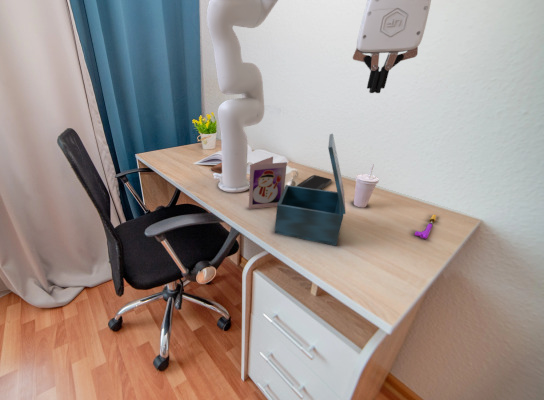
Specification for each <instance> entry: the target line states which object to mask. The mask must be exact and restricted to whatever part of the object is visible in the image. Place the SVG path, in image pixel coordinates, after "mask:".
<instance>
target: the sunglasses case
mask: <svg viewBox="0 0 544 400" xmlns="http://www.w3.org/2000/svg"><path fill="white" fill-rule="evenodd" d="M210 169H211V170H212V171H213V172H214V173H219V174H221V173H222V161H221V162H219V163H217V164H215V165H213V166H212V167H211V168H210Z"/></svg>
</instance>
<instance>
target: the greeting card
mask: <svg viewBox="0 0 544 400" xmlns="http://www.w3.org/2000/svg"><path fill="white" fill-rule="evenodd" d="M287 167H288V161H287V162H274V156H270V157H267V158H265V159H262V160H260V161H256V162H254V163H252V164H249V181H250V186H249V189H248V194H249V195H248V210H251V209H263V208H273V207H277V204H278V202H279V200H280V198H281V195H282V193H283V191H284V189H285V186H286V184H285V183H286V176H287V175H286V174H287Z"/></svg>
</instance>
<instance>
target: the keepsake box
mask: <svg viewBox="0 0 544 400" xmlns="http://www.w3.org/2000/svg"><path fill="white" fill-rule="evenodd" d="M275 213H276V215H275V225H274V234H277V235H282V236H286V237H291V238H296V239H301V240H306V241H311V242H314V243H320V244H325V245H330V246H335V247H337V244H338V240H339V236H340V232H341V228H342V225H343V224H342V223H343V219H344V214H343V215H342V212H341V208H340V203H339V198H338V193H337V191H332V190H325V189H322V190H319V189H312V188H304V187H297V185H296V186H295V185H289V184H285V185H284V191H283V193H282V195H281V198H280V200H279V202H278V204H277V206H276V212H275Z"/></svg>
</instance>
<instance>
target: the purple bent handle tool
mask: <svg viewBox="0 0 544 400" xmlns="http://www.w3.org/2000/svg"><path fill="white" fill-rule="evenodd" d="M437 217H438V216H437V214H432V215H431V217H430V219H429V223H427V225H426V228H425V229H424V230H422V231H418V230H416V231H415V233H414V236H415V237H420V239H424V240H426V239H428V237H429V236H430V232H431V230H432V228H433V223H435V222H436V220H437Z"/></svg>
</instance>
